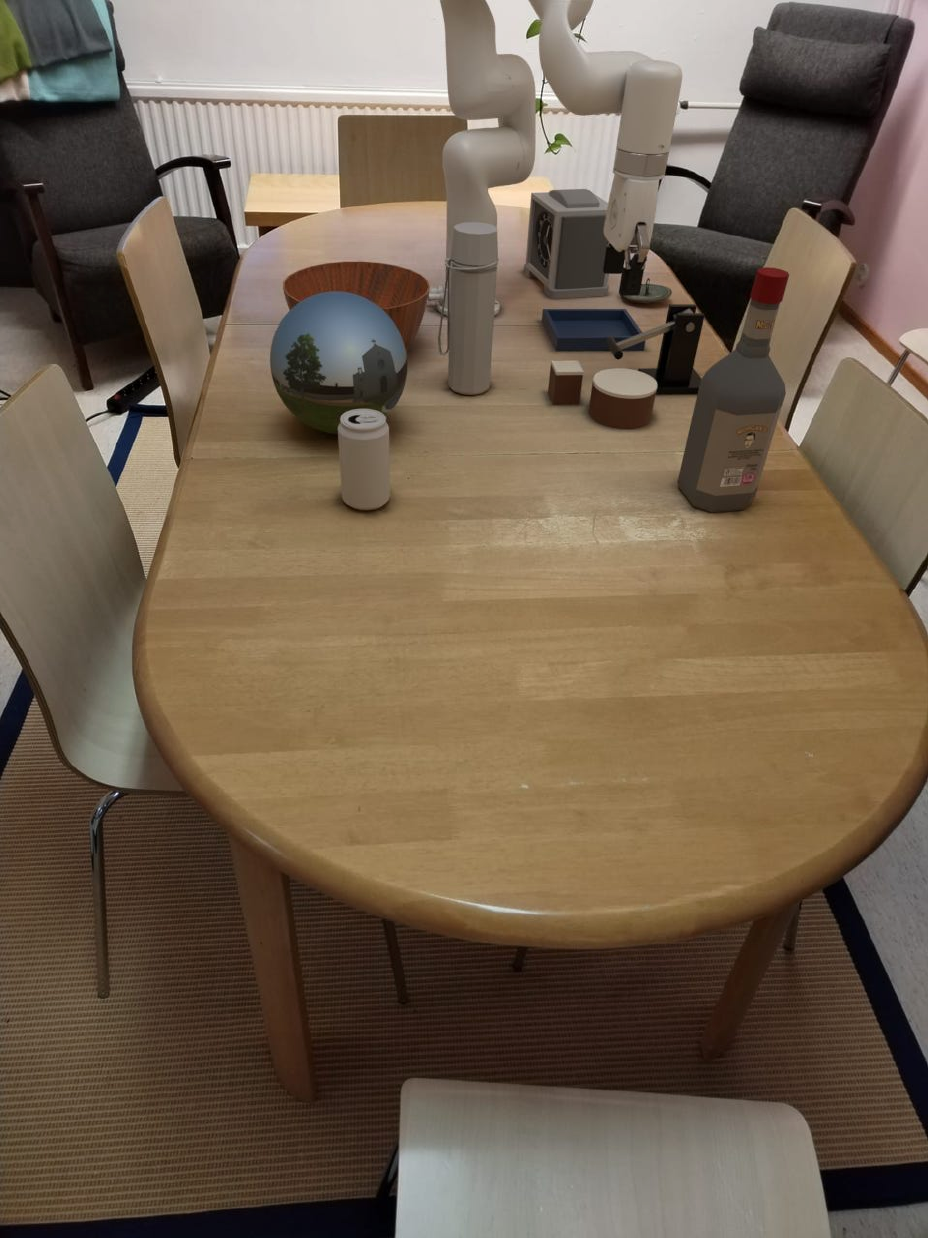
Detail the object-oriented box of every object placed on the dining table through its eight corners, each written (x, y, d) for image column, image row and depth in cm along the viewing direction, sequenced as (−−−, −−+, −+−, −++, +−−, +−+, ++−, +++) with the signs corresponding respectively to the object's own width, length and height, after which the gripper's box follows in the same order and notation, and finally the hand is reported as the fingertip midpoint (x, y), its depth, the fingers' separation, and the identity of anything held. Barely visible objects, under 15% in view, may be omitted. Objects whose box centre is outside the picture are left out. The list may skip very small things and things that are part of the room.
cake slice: (552, 404, 137) (556, 371, 134) (547, 392, 140) (551, 360, 137) (579, 404, 138) (583, 371, 134) (573, 392, 141) (577, 360, 137)
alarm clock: (522, 270, 189) (529, 180, 177) (576, 267, 192) (587, 179, 180) (551, 299, 175) (560, 203, 164) (609, 295, 179) (623, 201, 167)
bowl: (454, 362, 149) (457, 296, 141) (323, 389, 138) (318, 320, 131) (390, 315, 165) (388, 254, 157) (267, 336, 154) (260, 272, 147)
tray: (556, 351, 154) (557, 337, 153) (541, 321, 165) (542, 308, 164) (643, 350, 156) (646, 337, 155) (623, 321, 167) (625, 308, 166)
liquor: (759, 509, 115) (829, 283, 95) (697, 515, 113) (755, 286, 94) (729, 476, 121) (789, 258, 102) (670, 480, 120) (719, 260, 101)
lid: (674, 314, 175) (684, 290, 173) (634, 306, 171) (644, 280, 169) (649, 299, 183) (658, 276, 181) (611, 291, 179) (620, 266, 176)
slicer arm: (616, 363, 138) (612, 350, 137) (607, 349, 143) (604, 336, 141) (699, 330, 136) (697, 317, 135) (688, 317, 141) (685, 303, 139)
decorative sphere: (428, 444, 125) (430, 309, 112) (301, 470, 118) (287, 329, 105) (379, 391, 138) (375, 265, 126) (261, 411, 131) (245, 279, 118)
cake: (596, 429, 131) (601, 395, 127) (582, 400, 139) (586, 368, 135) (658, 428, 132) (665, 394, 129) (641, 400, 140) (647, 367, 136)
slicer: (649, 394, 141) (664, 318, 133) (636, 374, 148) (650, 300, 139) (707, 393, 143) (724, 318, 134) (691, 374, 149) (708, 300, 140)
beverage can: (342, 488, 115) (337, 406, 107) (390, 487, 115) (388, 406, 108) (341, 513, 110) (335, 429, 102) (390, 513, 110) (389, 429, 103)
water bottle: (496, 382, 143) (507, 224, 127) (482, 400, 137) (491, 238, 121) (445, 373, 145) (449, 216, 129) (429, 391, 139) (431, 230, 123)
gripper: (600, 148, 128) (584, 265, 139) (631, 177, 115) (611, 303, 126) (648, 149, 129) (628, 265, 140) (684, 178, 116) (659, 303, 127)
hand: (620, 283), depth 133 cm, fingers open, 9 cm apart
